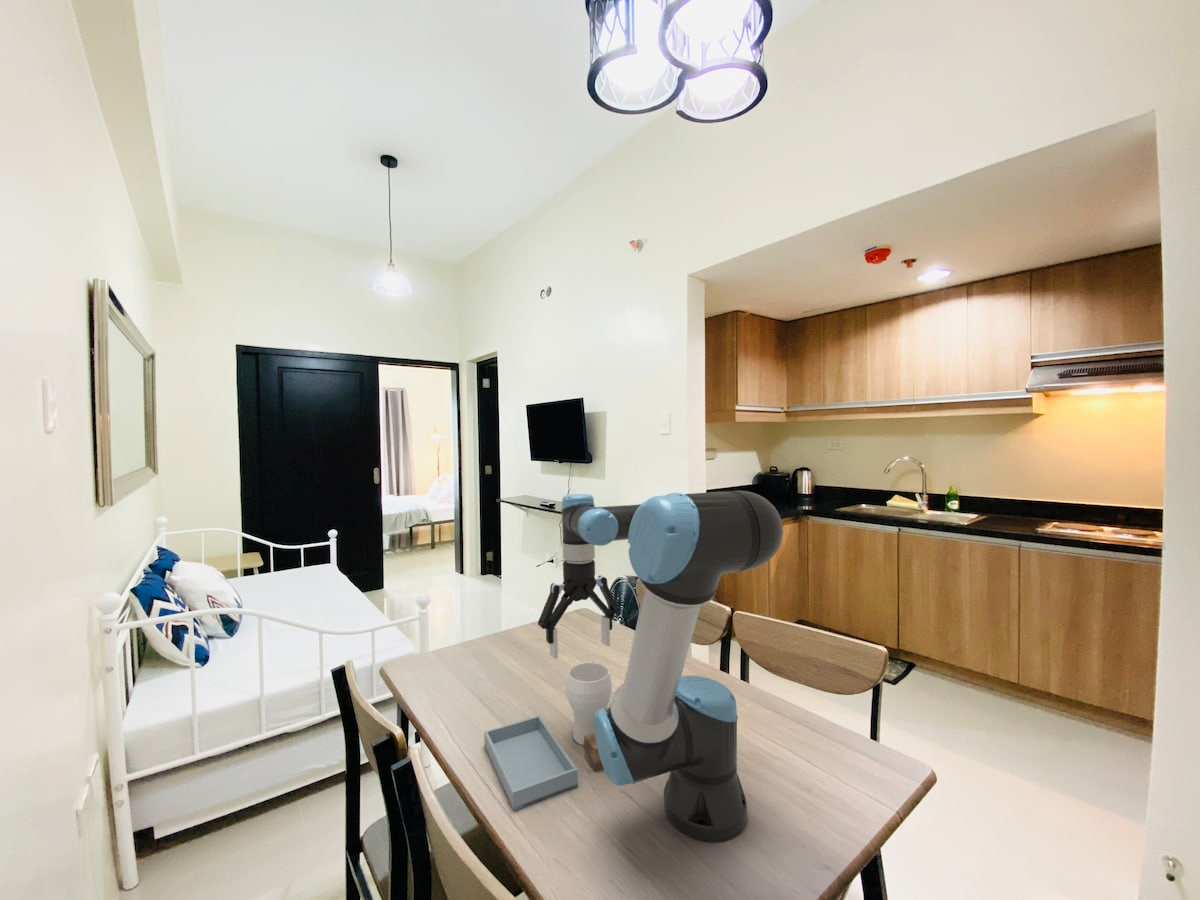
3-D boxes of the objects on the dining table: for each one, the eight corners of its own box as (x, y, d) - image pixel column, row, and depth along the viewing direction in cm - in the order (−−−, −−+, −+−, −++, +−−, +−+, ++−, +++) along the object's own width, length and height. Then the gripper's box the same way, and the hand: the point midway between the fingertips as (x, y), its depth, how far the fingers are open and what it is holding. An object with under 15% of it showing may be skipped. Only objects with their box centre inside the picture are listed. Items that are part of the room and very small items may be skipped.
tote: (577, 786, 95) (577, 769, 95) (513, 811, 89) (512, 792, 89) (539, 729, 114) (539, 715, 114) (484, 746, 108) (484, 731, 108)
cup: (607, 752, 105) (607, 685, 105) (561, 747, 107) (560, 681, 107) (615, 724, 116) (615, 663, 115) (573, 719, 118) (572, 659, 117)
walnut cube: (615, 764, 102) (615, 741, 102) (594, 772, 99) (594, 748, 99) (604, 751, 106) (604, 729, 106) (584, 758, 104) (584, 735, 104)
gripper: (616, 550, 122) (617, 634, 122) (523, 563, 110) (524, 655, 110) (632, 556, 116) (633, 644, 116) (534, 570, 104) (536, 668, 104)
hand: (580, 650), depth 113 cm, fingers open, 13 cm apart
